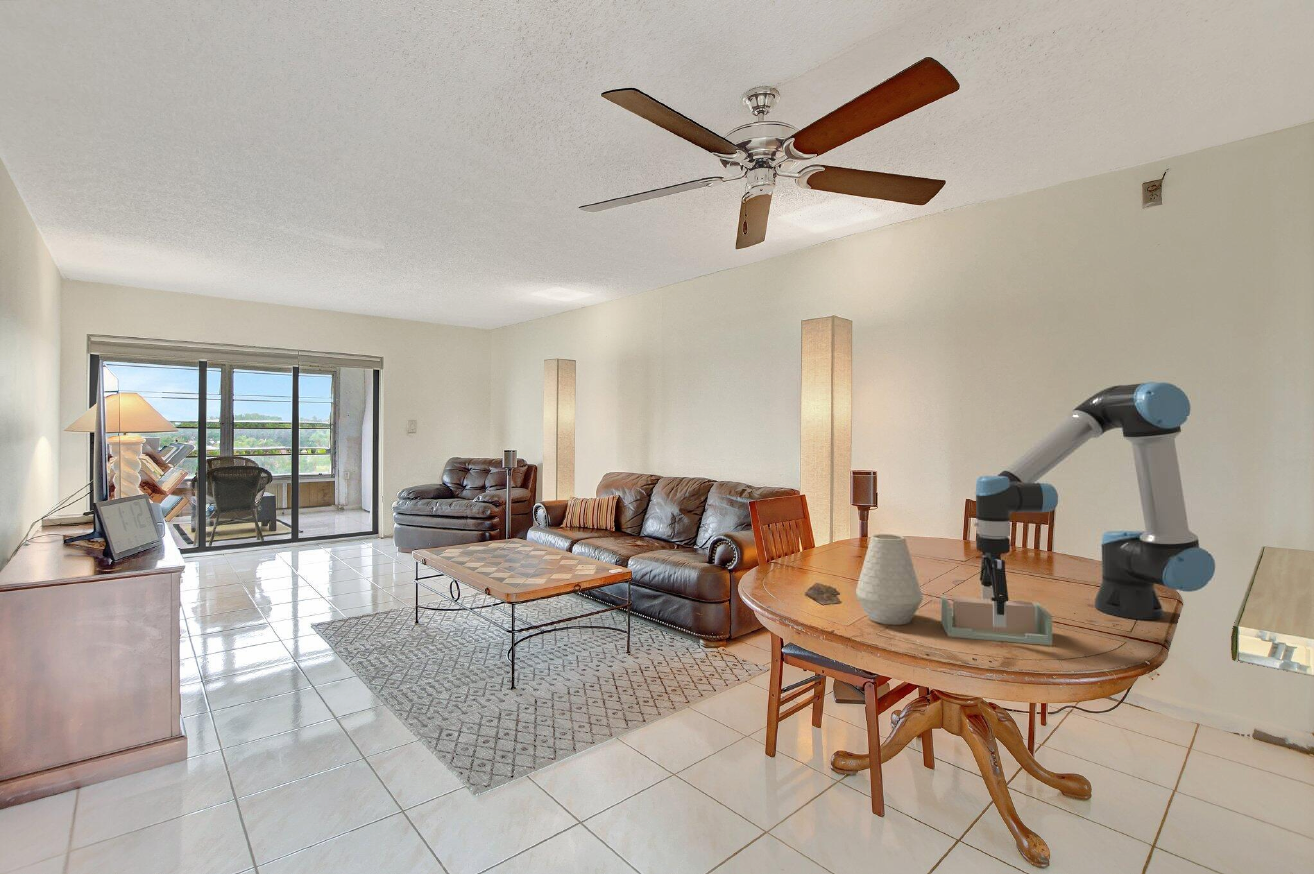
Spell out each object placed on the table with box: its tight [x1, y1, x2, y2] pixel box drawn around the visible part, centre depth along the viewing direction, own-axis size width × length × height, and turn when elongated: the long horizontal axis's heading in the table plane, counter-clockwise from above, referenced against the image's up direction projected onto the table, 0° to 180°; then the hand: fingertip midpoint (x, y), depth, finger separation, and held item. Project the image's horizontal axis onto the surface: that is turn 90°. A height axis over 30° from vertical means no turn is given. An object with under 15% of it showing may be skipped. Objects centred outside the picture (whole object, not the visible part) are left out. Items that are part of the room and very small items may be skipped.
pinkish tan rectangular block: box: [952, 596, 1036, 634], centre depth 152 cm, size 18×4×7 cm, turn 71°
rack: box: [940, 595, 1053, 646], centre depth 152 cm, size 23×12×7 cm, turn 72°
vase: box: [855, 533, 924, 626], centre depth 164 cm, size 17×17×23 cm
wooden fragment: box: [804, 582, 843, 606], centre depth 190 cm, size 26×11×1 cm, turn 166°
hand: (993, 618), depth 152 cm, fingers open, 13 cm apart
